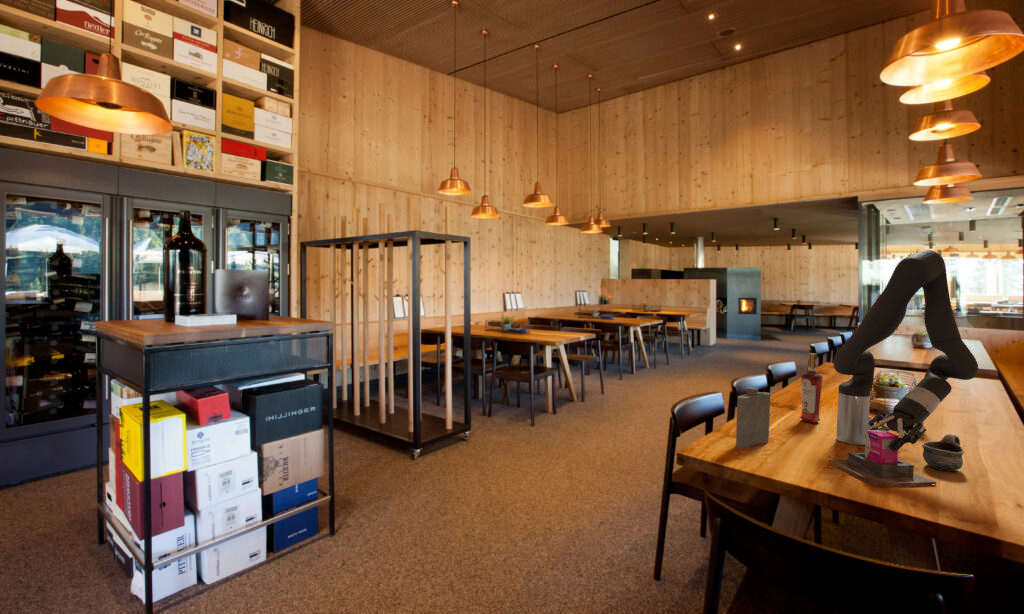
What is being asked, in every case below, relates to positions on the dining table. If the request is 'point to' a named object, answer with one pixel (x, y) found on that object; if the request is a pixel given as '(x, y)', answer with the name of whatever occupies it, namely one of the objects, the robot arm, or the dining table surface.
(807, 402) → the liquor
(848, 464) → the socket
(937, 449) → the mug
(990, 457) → the dining table surface
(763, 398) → the hip flask
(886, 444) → the supplement box
